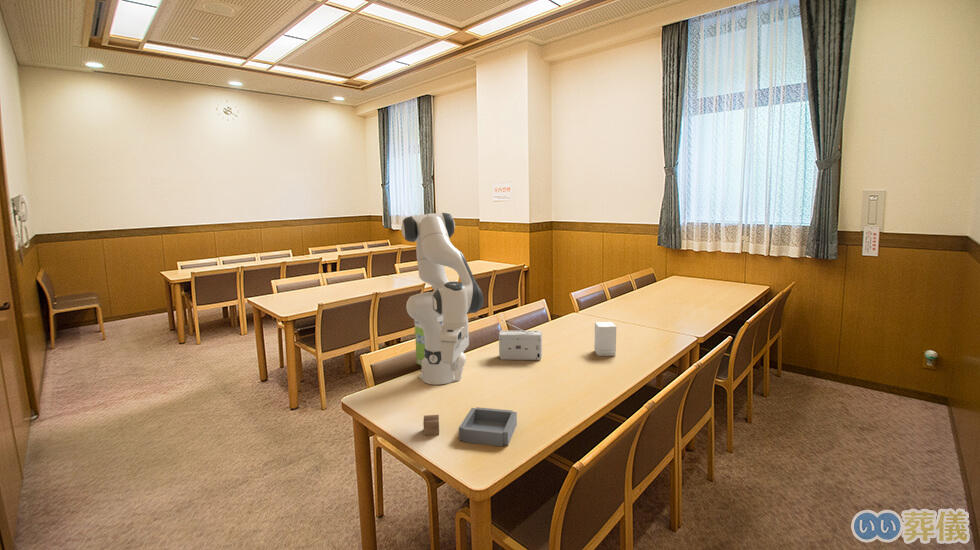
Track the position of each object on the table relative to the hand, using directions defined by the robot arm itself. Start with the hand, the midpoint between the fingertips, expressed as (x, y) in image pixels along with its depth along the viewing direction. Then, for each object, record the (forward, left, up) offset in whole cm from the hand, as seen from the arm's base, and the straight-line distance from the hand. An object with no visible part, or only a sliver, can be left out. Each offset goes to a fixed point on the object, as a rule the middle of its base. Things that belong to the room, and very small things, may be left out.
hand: (456, 367), depth 164 cm
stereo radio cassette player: (-67, +10, -20) cm, 70 cm away
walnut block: (+11, -6, -19) cm, 23 cm away
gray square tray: (+7, +13, -19) cm, 24 cm away
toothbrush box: (-53, -28, -19) cm, 63 cm away
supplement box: (-82, +50, -20) cm, 98 cm away
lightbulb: (-1, 0, -5) cm, 5 cm away
